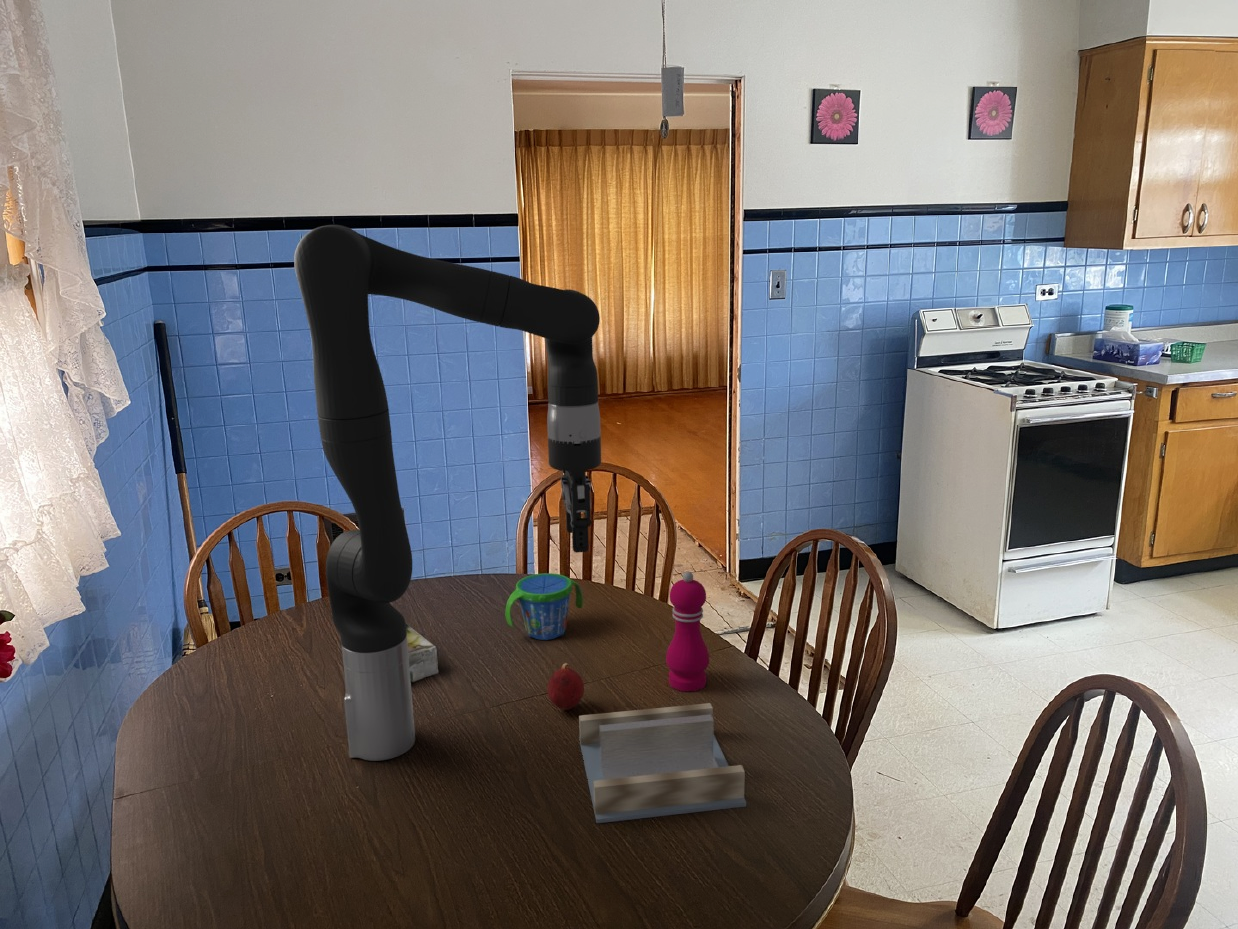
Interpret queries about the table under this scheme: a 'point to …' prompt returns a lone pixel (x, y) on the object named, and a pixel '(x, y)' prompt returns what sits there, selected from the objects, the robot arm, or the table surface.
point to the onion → (565, 688)
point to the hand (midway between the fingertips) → (577, 541)
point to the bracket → (656, 746)
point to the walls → (659, 786)
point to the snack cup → (544, 604)
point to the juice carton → (420, 655)
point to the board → (594, 773)
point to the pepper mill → (687, 636)
